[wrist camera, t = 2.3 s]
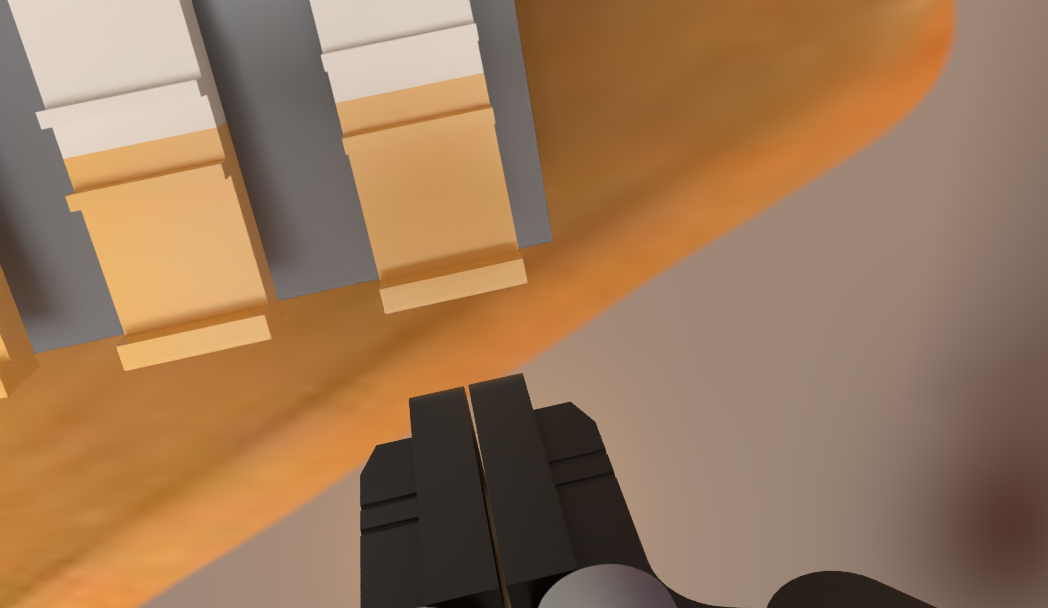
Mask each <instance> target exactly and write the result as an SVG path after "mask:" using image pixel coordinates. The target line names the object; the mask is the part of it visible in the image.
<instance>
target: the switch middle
mask: <svg viewBox="0 0 1048 608" xmlns="http://www.w3.org/2000/svg"><path fill="white" fill-rule="evenodd" d="M8 3H9V6H10V8H11V11H12V14H13V17H14V20H15V23H16V26H17V28H18V31H19V34H20V37H21V40H22V43H23V46H24V48H25V51H26V54H27V57H28V60H29V63H30V66H31V68H32V71H33V74H34V77H35V80H36V83H37V86H38V88H39V91H40V94H41V97H42V100H43V103H44V106H45V108H46V110H42V111H39V112H35V113H36V116H37V118H38V121H39V124H40V127H41V130H42V129H47V128H53V131H54V134H55V137H56V140H57V143H58V146H59V148H60V151H61V154H62V157H63V160H64V163H65V166H66V168H67V171H68V174H69V177H70V180H71V183H72V186H73V188H74V191H73V192H72V193H70V194H68V195H66V196H65V198H66V200H67V203H68V206H69V209H70V212H74V211H79V210H81V211H82V214H83V217H84V220H85V223H86V226H87V228H88V231H89V234H90V237H91V240H92V243H93V246H94V248H95V251H96V254H97V257H98V260H99V263H100V266H101V268H102V271H103V274H104V277H105V280H106V283H107V286H108V288H109V291H110V294H111V297H112V300H113V303H114V306H115V308H116V311H117V314H118V317H119V320H120V323H121V326H122V328H123V331H124V334H125V337H124V338H123V340H122V341H121V342H120V343H119V344H118V345H117V347H116V348H117V351H118V354H119V356H120V359H121V362H122V365H123V368H124V370H125V371H128V370H132V369H137V368H141V367H146V366H151V365H155V364H160V363H164V362H169V361H173V360H178V359H182V358H187V357H192V356H196V355H201V354H205V353H210V352H214V351H219V350H224V349H228V348H233V347H237V346H242V345H246V344H251V343H256V342H260V341H265V340H269V339H272V337H273V334H274V332H275V329H276V327H277V324H278V322H279V320H280V317H281V315H282V311H281V308H280V304H279V301H278V297H277V294H276V290H275V287H274V284H273V280H272V277H271V273H270V270H269V266H268V263H267V259H266V256H265V253H264V249H263V246H262V242H261V239H260V235H259V232H258V228H257V225H256V221H255V218H254V215H253V211H252V208H251V204H250V201H249V197H248V194H247V190H246V187H245V183H244V180H243V177H242V173H241V170H240V166H239V163H238V159H237V156H236V152H235V149H234V146H233V142H232V139H231V135H230V132H229V128H228V125H227V121H226V118H225V114H224V111H223V108H222V104H221V101H220V97H219V94H218V90H217V87H216V83H215V80H214V76H213V73H212V70H211V66H210V63H209V59H208V56H207V52H206V49H205V45H204V42H203V39H202V35H201V32H200V28H199V25H198V21H197V18H196V14H195V11H194V7H193V4H192V1H191V0H8Z"/></svg>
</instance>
